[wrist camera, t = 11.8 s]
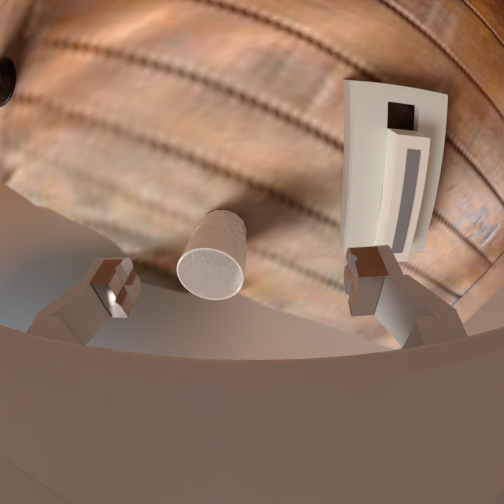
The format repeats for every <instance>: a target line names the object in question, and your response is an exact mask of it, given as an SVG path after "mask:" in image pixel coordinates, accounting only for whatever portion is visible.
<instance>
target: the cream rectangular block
mask: <svg viewBox="0 0 504 504" xmlns="http://www.w3.org/2000/svg"><path fill="white" fill-rule="evenodd" d="M429 148H430V138H429V137H427V136H426V135H424V134H422V133H420V132H418V131H411V130H401V129H391V128H387V146H386V159H385V171H384V181H383V190H382V198H381V206H380V213H379V220H378V226H377V233H376V239H375V244H374V246H376V245H389V246H390V248H391V250H392V252H393V254H394V256H395V258H396V260H397V262H406V261H408V257H409V254H410V250H411V246H412V242H413V238H414V234H415V230H416V225H417V221H418V216H419V211H420V206H421V201H422V196H423V190H424V184H425V178H426V171H427V164H428V157H429Z"/></svg>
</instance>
